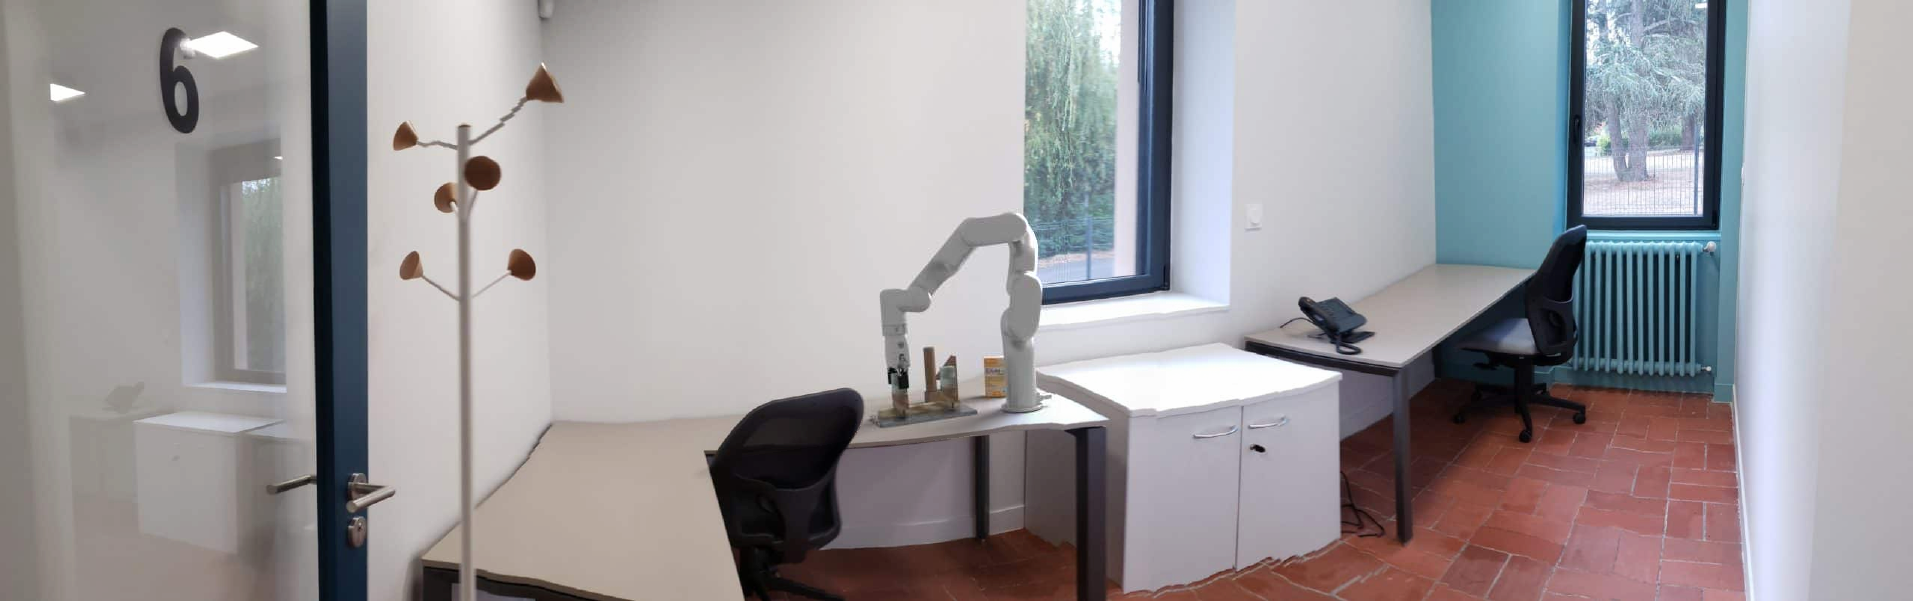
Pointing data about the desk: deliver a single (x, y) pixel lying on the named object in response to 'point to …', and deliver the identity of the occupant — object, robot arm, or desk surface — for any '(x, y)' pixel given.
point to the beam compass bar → (947, 401)
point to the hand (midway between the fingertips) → (898, 386)
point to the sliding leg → (899, 395)
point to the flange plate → (924, 416)
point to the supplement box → (994, 376)
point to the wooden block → (934, 375)
